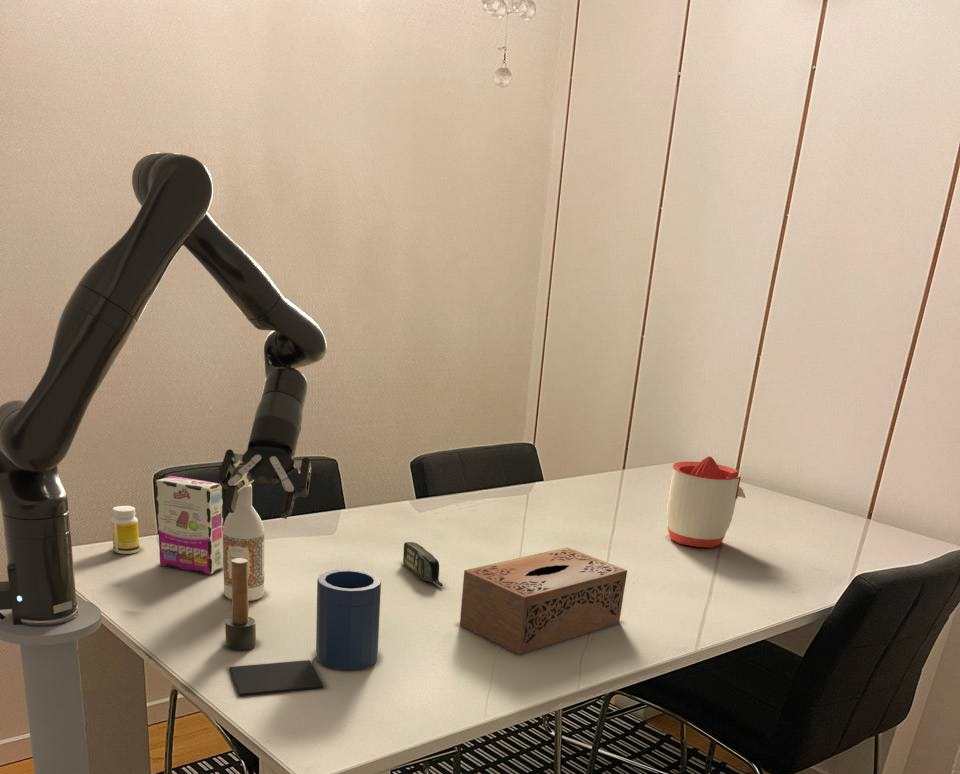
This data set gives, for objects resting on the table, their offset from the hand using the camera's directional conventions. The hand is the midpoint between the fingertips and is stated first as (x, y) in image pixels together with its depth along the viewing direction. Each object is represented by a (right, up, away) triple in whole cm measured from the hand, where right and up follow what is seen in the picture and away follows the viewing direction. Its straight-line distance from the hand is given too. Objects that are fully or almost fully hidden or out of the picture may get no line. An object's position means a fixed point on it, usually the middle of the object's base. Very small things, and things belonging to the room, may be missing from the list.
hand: (256, 513), depth 153 cm
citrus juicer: (+86, +3, +72) cm, 113 cm away
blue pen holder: (+15, -23, -2) cm, 27 cm away
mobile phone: (+24, -8, +35) cm, 44 cm away
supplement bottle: (-33, -3, +34) cm, 48 cm away
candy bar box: (-19, -6, +29) cm, 35 cm away
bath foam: (-6, -12, +18) cm, 23 cm away
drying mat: (+5, -26, -11) cm, 28 cm away
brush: (-2, -21, -1) cm, 21 cm away
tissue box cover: (+46, -17, +18) cm, 52 cm away
